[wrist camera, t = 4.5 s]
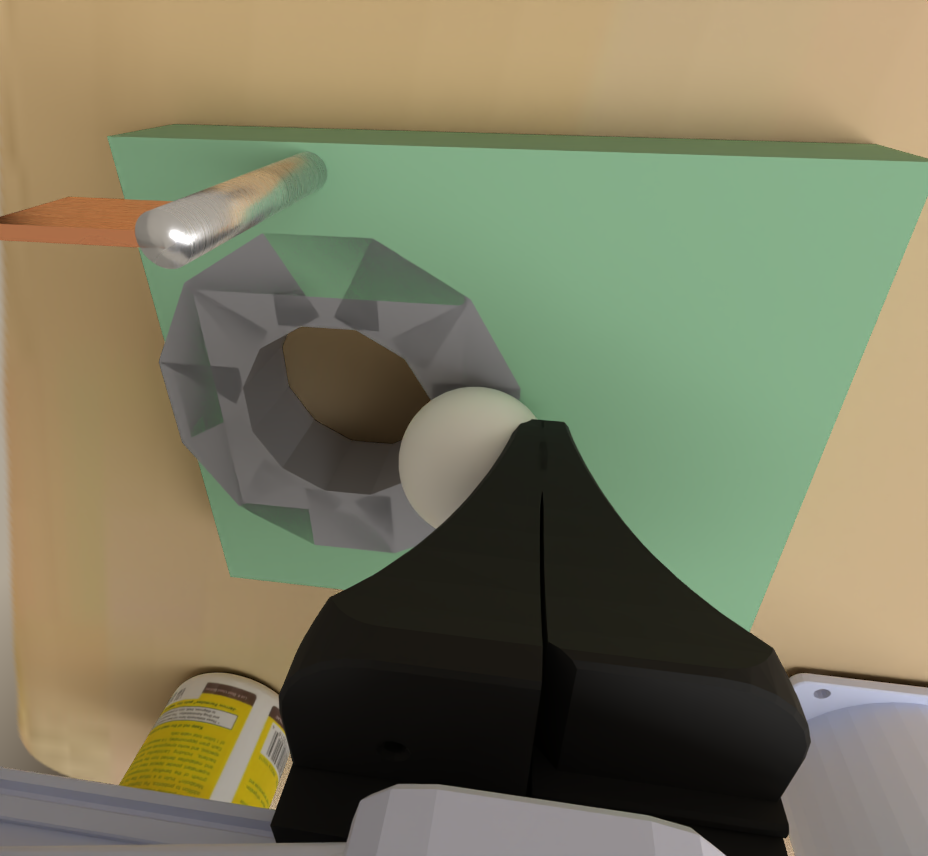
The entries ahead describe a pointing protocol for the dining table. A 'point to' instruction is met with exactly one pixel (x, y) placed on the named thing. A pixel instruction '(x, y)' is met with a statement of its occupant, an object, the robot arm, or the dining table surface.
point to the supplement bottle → (215, 743)
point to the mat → (532, 325)
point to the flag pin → (172, 214)
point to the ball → (455, 447)
